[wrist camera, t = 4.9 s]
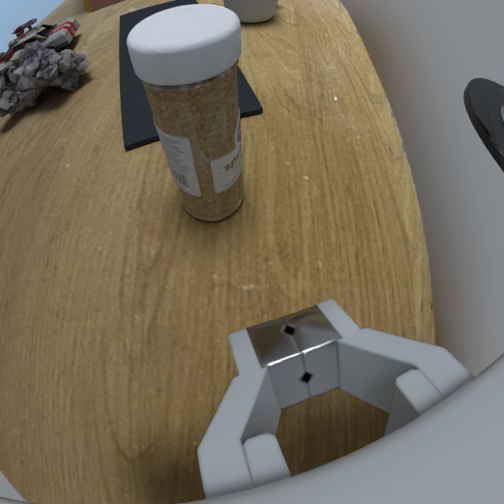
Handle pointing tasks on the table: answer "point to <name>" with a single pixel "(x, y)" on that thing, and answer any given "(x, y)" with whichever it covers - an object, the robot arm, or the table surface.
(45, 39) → the toy car
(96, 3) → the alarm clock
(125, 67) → the mat
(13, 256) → the table surface
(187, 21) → the sprinkles bottle
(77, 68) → the mineral specimen
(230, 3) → the cup
